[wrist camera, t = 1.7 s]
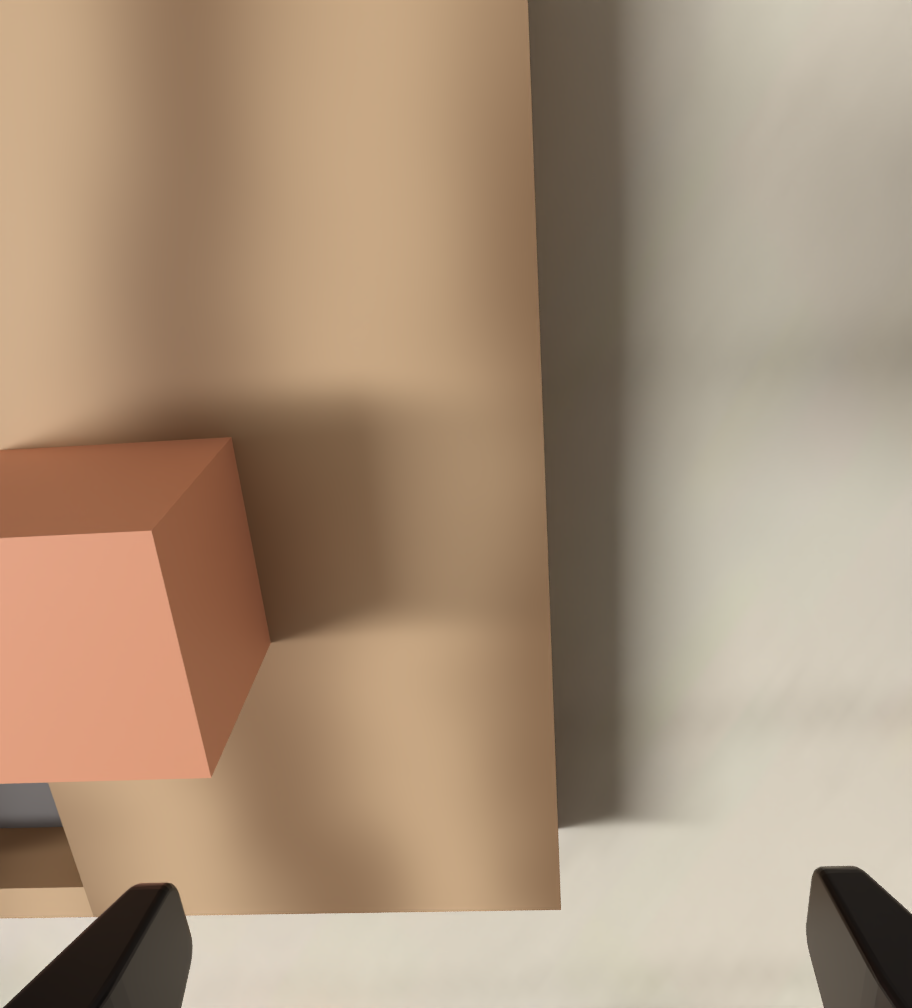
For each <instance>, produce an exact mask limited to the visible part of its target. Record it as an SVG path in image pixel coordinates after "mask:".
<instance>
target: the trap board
mask: <svg viewBox="0 0 912 1008" xmlns="http://www.w3.org/2000/svg"><path fill="white" fill-rule="evenodd" d="M223 437H232V443H233V448H234V453H235V458H236V463H237V469H238V474H239V479H240V484H241V490H242V495H243V500H244V505H245V511H246V516H247V521H248V526H249V532H250V537H251V542H252V547H253V552H254V558H255V563H256V568H257V573H258V579H259V584H260V589H261V594H262V600H263V605H264V610H265V615H266V620H267V626H268V631H269V636H270V641H271V644H270V646H269V648H268V650H267V653H266V655H265V657H264V659H263V662H262V664H261V666H260V669H259V671H258V673H257V675H256V678H255V680H254V682H253V684H252V687H251V689H250V691H249V694H248V696H247V698H246V700H245V703H244V705H243V707H242V709H241V712H240V714H239V716H238V718H237V721H236V723H235V725H234V728H233V730H232V732H231V734H230V737H229V739H228V741H227V743H226V746H225V748H224V750H223V753H222V755H221V757H220V759H219V762H218V764H217V766H216V768H215V771H214V773H213V775H212V777H211V778H194V779H157V780H121V781H84V782H48V783H11V784H0V918H53V917H99V916H100V915H101V914H102V913H103V912H104V911H105V910H106V909H108V908H109V907H110V906H111V905H112V904H113V903H114V902H115V901H116V900H117V899H118V898H119V897H120V896H121V895H122V894H123V893H124V892H125V891H126V890H128V889H129V888H130V887H132V886H134V885H136V884H139V883H164V882H168V883H172V884H173V885H174V886H175V887H176V888H177V890H178V892H179V895H180V898H181V902H182V905H183V909H184V912H185V915H250V914H315V913H381V912H446V911H511V910H561V898H560V870H559V843H558V815H557V788H556V760H555V733H554V705H553V678H552V650H551V623H550V595H549V568H548V540H547V513H546V486H545V458H544V431H543V403H542V376H541V348H540V321H539V293H538V266H537V238H536V211H535V183H534V156H533V128H532V101H531V73H530V46H529V18H528V0H0V450H13V449H30V448H48V447H65V446H83V445H100V444H118V443H135V442H153V441H170V440H188V439H206V438H223Z"/></svg>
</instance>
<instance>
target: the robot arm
mask: <svg viewBox="0 0 912 1008" xmlns="http://www.w3.org/2000/svg"><path fill="white" fill-rule="evenodd" d="M806 935H807V943H808V949H809V953H810V957H811V961H812V965H813V968H814V972H815V976H816V980H817V983H818V987H819V991H820V995H821V998H822V1002H823V1006H824V1008H912V914H911V913H910V912H909V911H908V910H907V909H906V908H904V907H903V906H902V905H901V904H900V903H899V902H898V901H897V900H896V899H895V898H893V897H892V896H891V895H890V894H889V893H888V892H887V891H886V890H885V889H884V888H882V887H881V886H880V885H879V884H878V883H877V882H876V881H875V880H874V879H873V878H871V877H870V876H869V875H868V874H867V873H866V872H865V871H863V870H862V869H860V868H858V867H855V866H825V867H819V868H817V869H816V870H815V871H814V873H813V875H812V880H811V889H810V897H809V906H808V914H807V923H806ZM191 959H192V938H191V933H190V930H189V926H188V923H187V919H186V916H185V912H184V909H183V905H182V902H181V898H180V895H179V892H178V890H177V888H176V887H175V886H174V885H173V884H172V883H168V882H164V883H139V884H136V885H134V886H132V887H130V888H129V889H128V890H126V891H125V892H124V893H123V894H122V895H121V896H120V897H119V898H118V899H117V900H116V901H115V902H114V903H113V904H112V905H111V906H110V907H109V908H108V909H106V910H105V911H104V912H103V913H102V914H101V915H100V916H99V917H98V918H97V919H96V920H95V921H94V922H93V923H92V924H91V925H90V926H89V927H88V928H86V929H85V930H84V931H83V932H82V933H81V934H80V935H79V936H78V937H77V938H76V939H75V940H74V941H73V942H72V943H71V944H70V945H69V946H68V947H66V948H65V949H64V950H63V951H62V952H61V953H60V954H59V955H58V956H57V957H56V958H55V959H54V960H53V961H52V962H51V963H50V964H49V965H48V966H46V967H45V968H44V969H43V970H42V971H41V972H40V973H39V974H38V975H37V976H36V977H35V978H34V979H33V980H32V981H31V982H30V983H29V984H28V985H26V986H25V987H24V988H23V989H22V990H21V991H20V992H19V993H18V994H17V995H16V996H15V997H14V998H13V999H12V1000H11V1001H10V1002H9V1003H8V1004H6V1005H5V1006H4V1007H3V1008H181V1006H182V1001H183V997H184V992H185V988H186V983H187V979H188V974H189V970H190V965H191Z"/></svg>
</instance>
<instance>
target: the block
mask: <svg viewBox="0 0 912 1008" xmlns="http://www.w3.org/2000/svg"><path fill="white" fill-rule="evenodd" d="M270 644H271V641H270V636H269V631H268V626H267V620H266V615H265V610H264V605H263V600H262V594H261V589H260V584H259V579H258V573H257V568H256V563H255V558H254V552H253V547H252V542H251V537H250V532H249V526H248V521H247V516H246V511H245V505H244V500H243V495H242V490H241V484H240V479H239V474H238V469H237V463H236V458H235V453H234V448H233V443H232V437H223V438H206V439H188V440H170V441H153V442H135V443H118V444H100V445H83V446H65V447H48V448H30V449H13V450H0V784H11V783H48V782H84V781H121V780H157V779H194V778H211V777H212V775H213V773H214V771H215V768H216V766H217V764H218V762H219V759H220V757H221V755H222V753H223V750H224V748H225V746H226V743H227V741H228V739H229V737H230V734H231V732H232V730H233V728H234V725H235V723H236V721H237V718H238V716H239V714H240V712H241V709H242V707H243V705H244V703H245V700H246V698H247V696H248V694H249V691H250V689H251V687H252V684H253V682H254V680H255V678H256V675H257V673H258V671H259V669H260V666H261V664H262V662H263V659H264V657H265V655H266V653H267V650H268V648H269V646H270Z"/></svg>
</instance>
